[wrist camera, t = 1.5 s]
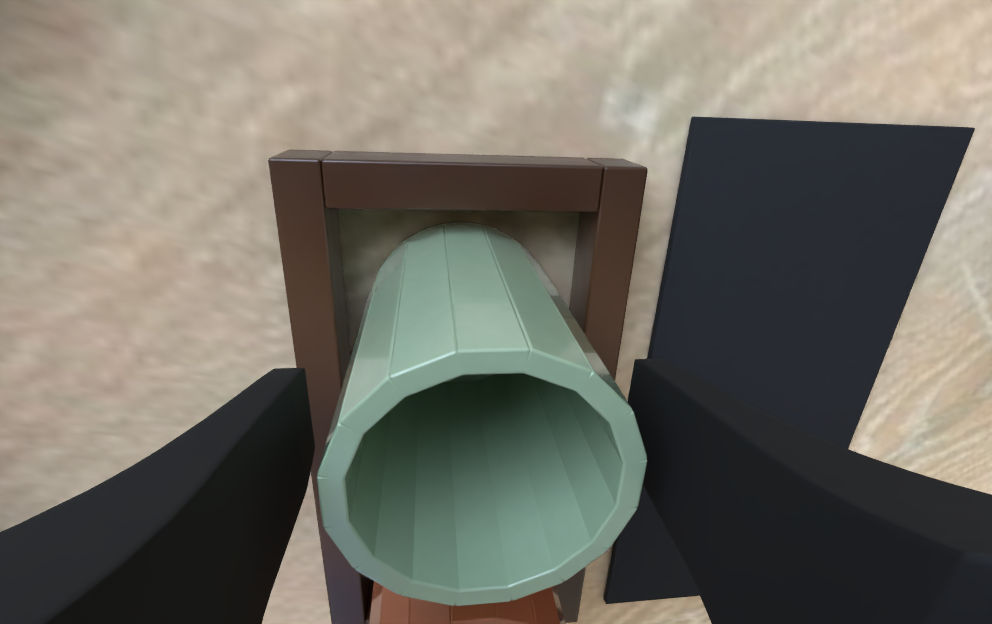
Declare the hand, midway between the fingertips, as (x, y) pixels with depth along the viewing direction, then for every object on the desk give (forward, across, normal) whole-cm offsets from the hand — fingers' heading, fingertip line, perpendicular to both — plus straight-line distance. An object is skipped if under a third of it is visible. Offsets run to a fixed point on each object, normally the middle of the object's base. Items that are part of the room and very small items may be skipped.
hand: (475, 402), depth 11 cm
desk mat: (+5, -11, +4) cm, 13 cm away
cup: (+5, 0, 0) cm, 5 cm away
